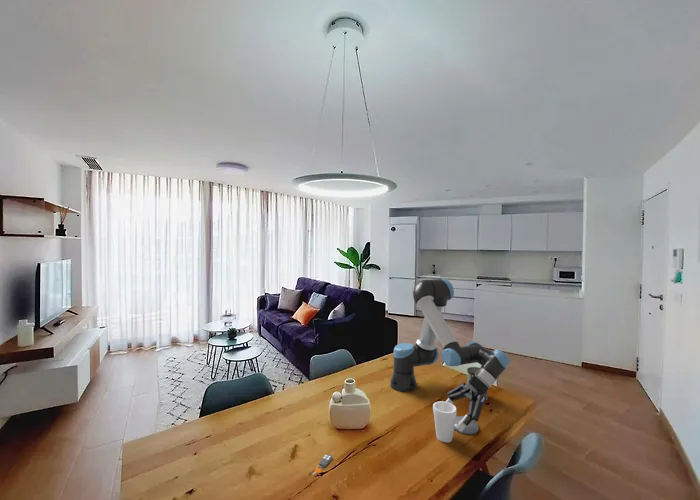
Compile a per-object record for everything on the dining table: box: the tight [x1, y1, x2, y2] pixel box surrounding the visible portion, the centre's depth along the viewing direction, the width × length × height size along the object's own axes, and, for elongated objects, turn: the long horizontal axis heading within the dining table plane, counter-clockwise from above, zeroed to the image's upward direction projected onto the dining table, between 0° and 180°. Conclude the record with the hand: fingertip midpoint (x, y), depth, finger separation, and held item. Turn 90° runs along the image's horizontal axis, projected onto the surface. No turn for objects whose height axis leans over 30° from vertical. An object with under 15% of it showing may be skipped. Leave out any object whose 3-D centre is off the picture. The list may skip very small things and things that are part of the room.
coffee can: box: [466, 366, 488, 401], centre depth 165 cm, size 10×10×14 cm
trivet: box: [454, 415, 479, 435], centre depth 137 cm, size 12×12×1 cm
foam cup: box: [432, 400, 458, 443], centre depth 129 cm, size 10×9×13 cm
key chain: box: [312, 453, 333, 476], centre depth 110 cm, size 13×4×2 cm, turn 156°
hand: (449, 420), depth 128 cm, fingers open, 13 cm apart
